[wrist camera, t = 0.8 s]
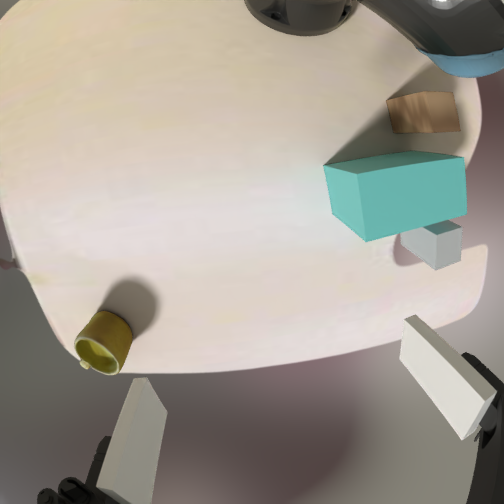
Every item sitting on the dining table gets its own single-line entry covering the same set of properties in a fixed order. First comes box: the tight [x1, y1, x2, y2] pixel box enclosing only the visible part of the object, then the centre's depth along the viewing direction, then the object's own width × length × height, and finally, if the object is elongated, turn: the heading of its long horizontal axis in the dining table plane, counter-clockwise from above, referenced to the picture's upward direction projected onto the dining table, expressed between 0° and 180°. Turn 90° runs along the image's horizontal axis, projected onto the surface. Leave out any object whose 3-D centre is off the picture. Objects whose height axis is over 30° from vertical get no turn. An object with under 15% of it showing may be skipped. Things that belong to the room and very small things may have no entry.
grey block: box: [401, 220, 462, 270], centre depth 33 cm, size 5×5×10 cm
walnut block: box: [386, 91, 461, 133], centre depth 27 cm, size 5×5×10 cm
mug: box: [74, 311, 133, 375], centre depth 41 cm, size 12×10×10 cm
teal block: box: [323, 151, 467, 242], centre depth 30 cm, size 7×15×12 cm, turn 104°
